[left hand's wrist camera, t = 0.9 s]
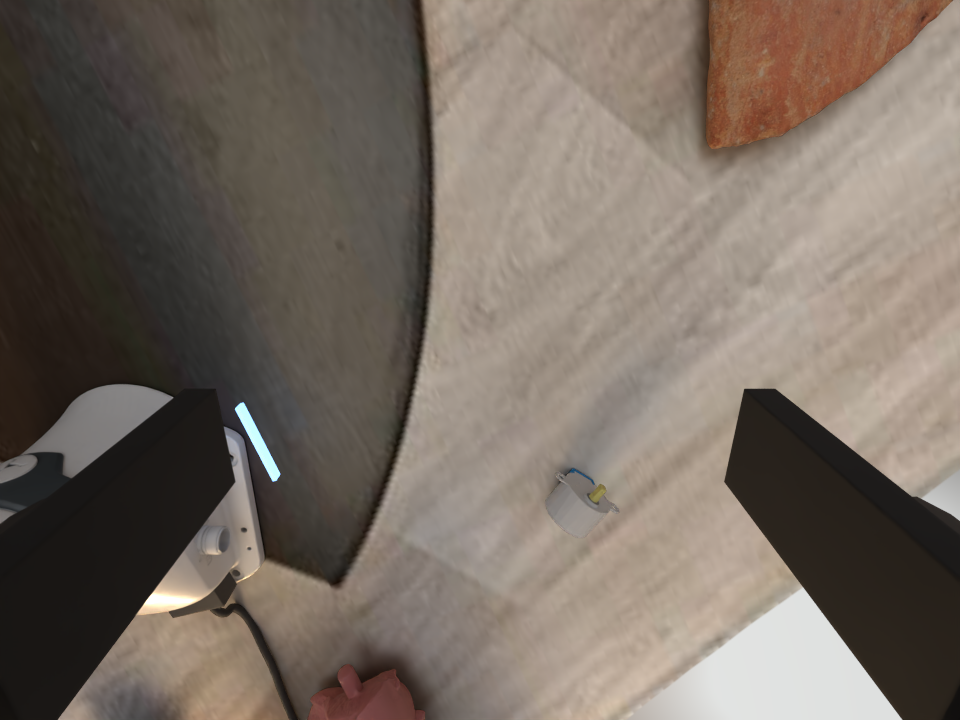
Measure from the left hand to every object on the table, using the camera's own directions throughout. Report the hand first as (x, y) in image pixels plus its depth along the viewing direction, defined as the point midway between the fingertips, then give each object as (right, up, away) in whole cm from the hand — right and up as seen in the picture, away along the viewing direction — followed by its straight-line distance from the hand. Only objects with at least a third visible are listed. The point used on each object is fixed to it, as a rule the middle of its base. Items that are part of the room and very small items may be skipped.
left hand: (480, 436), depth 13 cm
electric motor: (+9, -9, +34) cm, 36 cm away
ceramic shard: (+22, +25, +20) cm, 39 cm away
